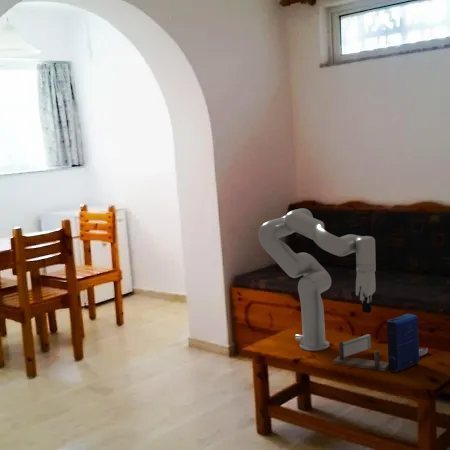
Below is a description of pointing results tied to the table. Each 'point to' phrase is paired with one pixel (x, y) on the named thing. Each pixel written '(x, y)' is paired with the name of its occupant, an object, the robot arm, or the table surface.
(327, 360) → the table surface
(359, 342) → the panel
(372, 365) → the gate frame
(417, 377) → the table surface
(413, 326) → the book
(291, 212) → the robot arm
